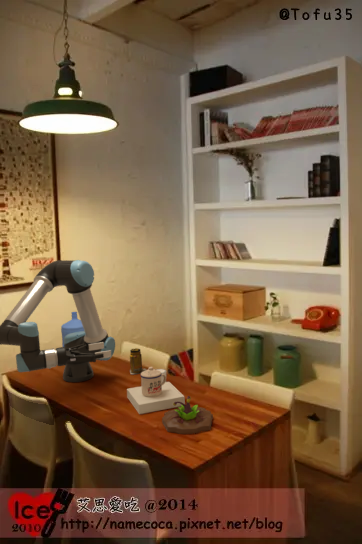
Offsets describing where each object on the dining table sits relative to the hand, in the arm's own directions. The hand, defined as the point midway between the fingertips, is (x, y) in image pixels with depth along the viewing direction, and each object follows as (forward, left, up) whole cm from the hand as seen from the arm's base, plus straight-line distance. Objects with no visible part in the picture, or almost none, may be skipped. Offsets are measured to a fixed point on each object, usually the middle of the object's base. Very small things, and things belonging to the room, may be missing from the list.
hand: (107, 349), depth 203 cm
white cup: (-14, +27, -25) cm, 39 cm away
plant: (+30, +24, -26) cm, 46 cm away
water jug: (-74, -3, -25) cm, 78 cm away
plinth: (+4, +19, -25) cm, 31 cm away
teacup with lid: (+5, +19, -21) cm, 29 cm away
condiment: (-38, +23, -25) cm, 51 cm away
